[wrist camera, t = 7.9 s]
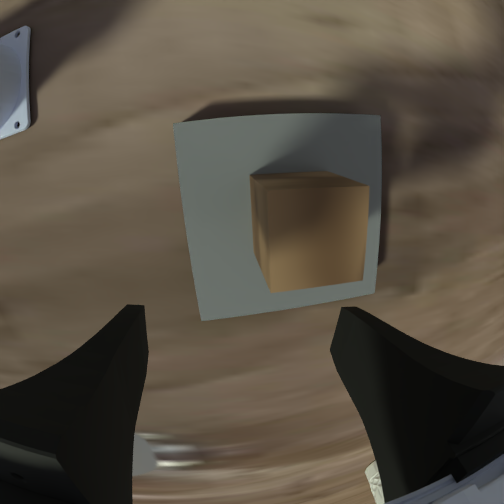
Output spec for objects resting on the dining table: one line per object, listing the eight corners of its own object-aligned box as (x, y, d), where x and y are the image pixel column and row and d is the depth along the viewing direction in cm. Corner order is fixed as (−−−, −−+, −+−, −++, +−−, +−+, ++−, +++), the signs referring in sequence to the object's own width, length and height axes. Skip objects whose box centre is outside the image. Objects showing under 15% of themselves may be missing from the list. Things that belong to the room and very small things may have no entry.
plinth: (201, 301, 22) (201, 320, 20) (177, 125, 17) (173, 123, 15) (359, 278, 23) (374, 293, 21) (361, 116, 19) (380, 115, 16)
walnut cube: (253, 252, 18) (270, 293, 14) (249, 175, 17) (267, 190, 12) (326, 244, 19) (362, 280, 14) (327, 171, 17) (369, 185, 13)
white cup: (413, 443, 37) (440, 488, 27) (392, 468, 39) (414, 510, 30) (373, 454, 35) (398, 506, 26) (354, 479, 38) (374, 526, 29)
